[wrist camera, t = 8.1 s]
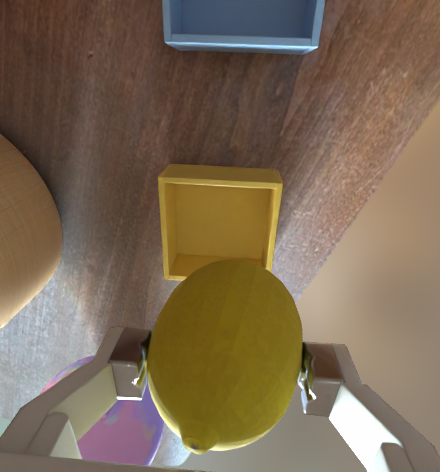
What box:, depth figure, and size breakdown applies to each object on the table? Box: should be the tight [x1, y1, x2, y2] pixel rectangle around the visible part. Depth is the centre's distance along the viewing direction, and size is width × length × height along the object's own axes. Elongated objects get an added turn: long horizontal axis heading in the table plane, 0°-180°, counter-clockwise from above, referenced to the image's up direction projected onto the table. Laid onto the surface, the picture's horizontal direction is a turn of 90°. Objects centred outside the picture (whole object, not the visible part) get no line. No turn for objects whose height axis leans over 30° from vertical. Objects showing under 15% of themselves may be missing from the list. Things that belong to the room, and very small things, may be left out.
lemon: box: [146, 259, 303, 454], centre depth 11 cm, size 6×6×8 cm
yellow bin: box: [158, 164, 283, 280], centre depth 27 cm, size 10×10×4 cm
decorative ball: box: [41, 355, 164, 466], centre depth 34 cm, size 15×15×15 cm
